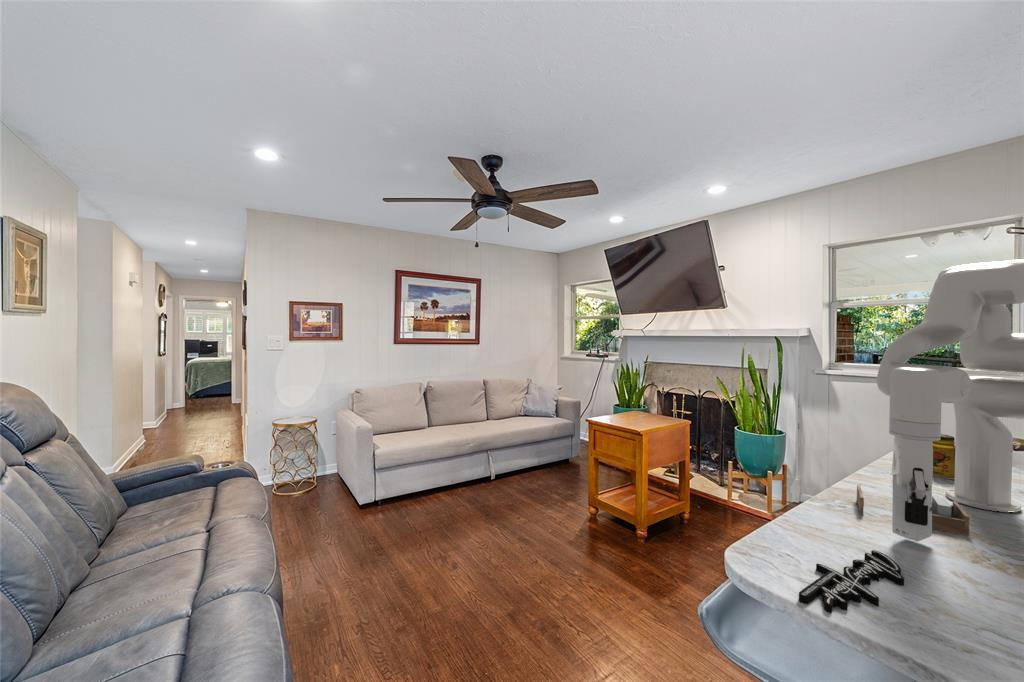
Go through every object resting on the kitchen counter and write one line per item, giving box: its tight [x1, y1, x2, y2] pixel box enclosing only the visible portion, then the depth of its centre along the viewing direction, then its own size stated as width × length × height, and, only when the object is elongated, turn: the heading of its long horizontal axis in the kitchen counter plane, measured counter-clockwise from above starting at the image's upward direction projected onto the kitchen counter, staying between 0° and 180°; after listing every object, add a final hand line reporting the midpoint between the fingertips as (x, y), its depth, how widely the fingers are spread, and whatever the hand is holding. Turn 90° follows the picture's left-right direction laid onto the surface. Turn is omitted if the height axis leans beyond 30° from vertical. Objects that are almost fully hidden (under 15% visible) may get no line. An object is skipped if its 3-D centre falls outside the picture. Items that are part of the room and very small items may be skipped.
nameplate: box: [798, 550, 905, 614], centre depth 72 cm, size 27×2×10 cm
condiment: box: [933, 433, 956, 480], centre depth 127 cm, size 7×8×12 cm
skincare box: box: [891, 474, 933, 542], centre depth 85 cm, size 6×4×12 cm
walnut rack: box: [856, 484, 970, 537], centre depth 97 cm, size 10×18×4 cm, turn 54°
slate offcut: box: [932, 495, 951, 517], centre depth 94 cm, size 6×2×5 cm, turn 144°
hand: (912, 515), depth 85 cm, fingers closed on skincare box, 7 cm apart
